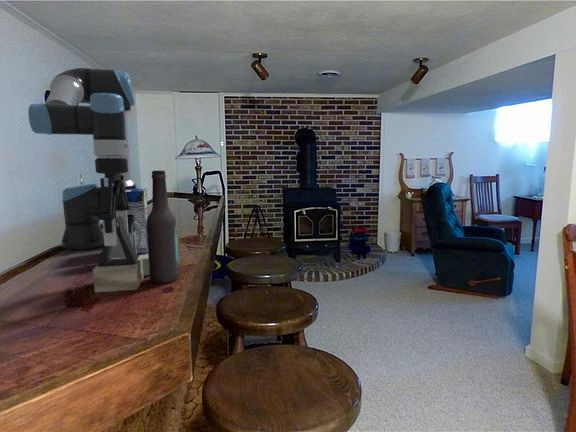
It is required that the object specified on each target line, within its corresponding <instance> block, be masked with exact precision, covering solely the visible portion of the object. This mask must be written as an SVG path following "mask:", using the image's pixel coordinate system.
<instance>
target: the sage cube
mask: <svg viewBox="0 0 576 432" xmlns="http://www.w3.org/2000/svg"><path fill="white" fill-rule="evenodd" d="M138 257H142V261H143V277H144V276H150V272H149V256H148V253H147V254H138Z"/></svg>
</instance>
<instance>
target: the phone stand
mask: <svg viewBox="0 0 576 432" xmlns="http://www.w3.org/2000/svg"><path fill="white" fill-rule="evenodd" d="M115 218H116V216H115V217H114V219H115ZM115 221H117V222H118V224H119V227H118V226H117V227H116V234H117V235H118V238H119V241H120V243H121V246H122V249H123V251H124V254H125V257H126V258H121V259H111V252H112V247H113V246H105V245H103V247H102V249H101V253H100V255H99V260H98V262H97V263H98V264H97V265H98V267H106V266H116V265H117V266H121V265H134V264H135V263H136V261H137V259H138V257H139V254H137V253H136V251H135V249H134V247H133V245H132V243H131V241H130V238H129V236H128V234H127V232H126V230H125V228H124V219H123V218H122V217H121V216H119V217H118V218H117V219H115Z"/></svg>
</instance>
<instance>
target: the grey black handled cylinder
mask: <svg viewBox="0 0 576 432" xmlns="http://www.w3.org/2000/svg"><path fill="white" fill-rule="evenodd" d="M115 216H116V215H114V217H115ZM115 219H116V218H115ZM127 221H128V236H129V238H130V241H131V243H132V245H133V247H134V249H135V251H136V253H137V248H138V247H139V245H140V242H141V227H140V225H139V223H137V222H134V215H129V214H127ZM115 223H116V227H117V221H115ZM134 224H137V226H138V228H139V240H138V244H137V246H136V231H135V225H134ZM116 236H117V245H116V246H113V247H112V252H111V257H110V259H113V258H126V257H125V254H124V251H123V249H122V246H121V243H120V241H119V238H118V235H117V234H116Z"/></svg>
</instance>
